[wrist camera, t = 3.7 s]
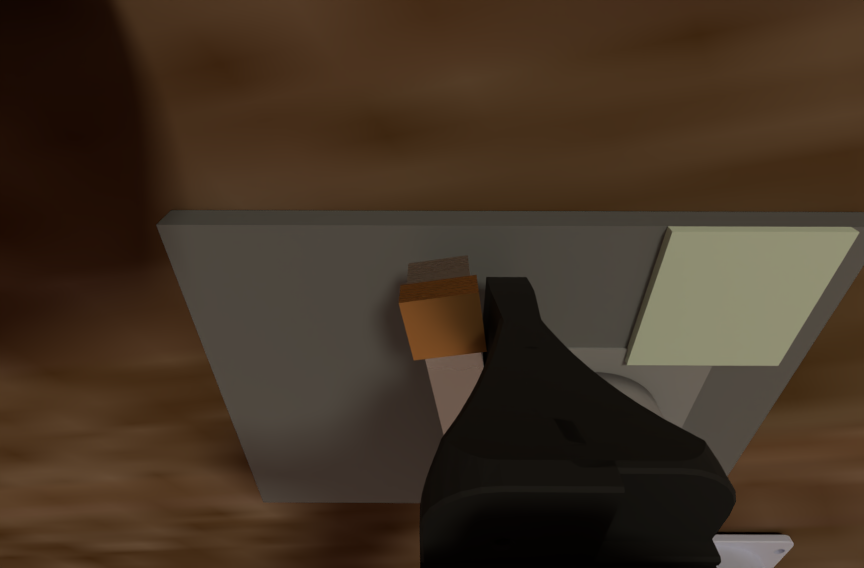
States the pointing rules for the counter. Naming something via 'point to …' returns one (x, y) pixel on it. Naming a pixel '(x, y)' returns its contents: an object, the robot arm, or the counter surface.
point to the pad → (733, 293)
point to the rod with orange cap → (445, 329)
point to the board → (388, 343)
